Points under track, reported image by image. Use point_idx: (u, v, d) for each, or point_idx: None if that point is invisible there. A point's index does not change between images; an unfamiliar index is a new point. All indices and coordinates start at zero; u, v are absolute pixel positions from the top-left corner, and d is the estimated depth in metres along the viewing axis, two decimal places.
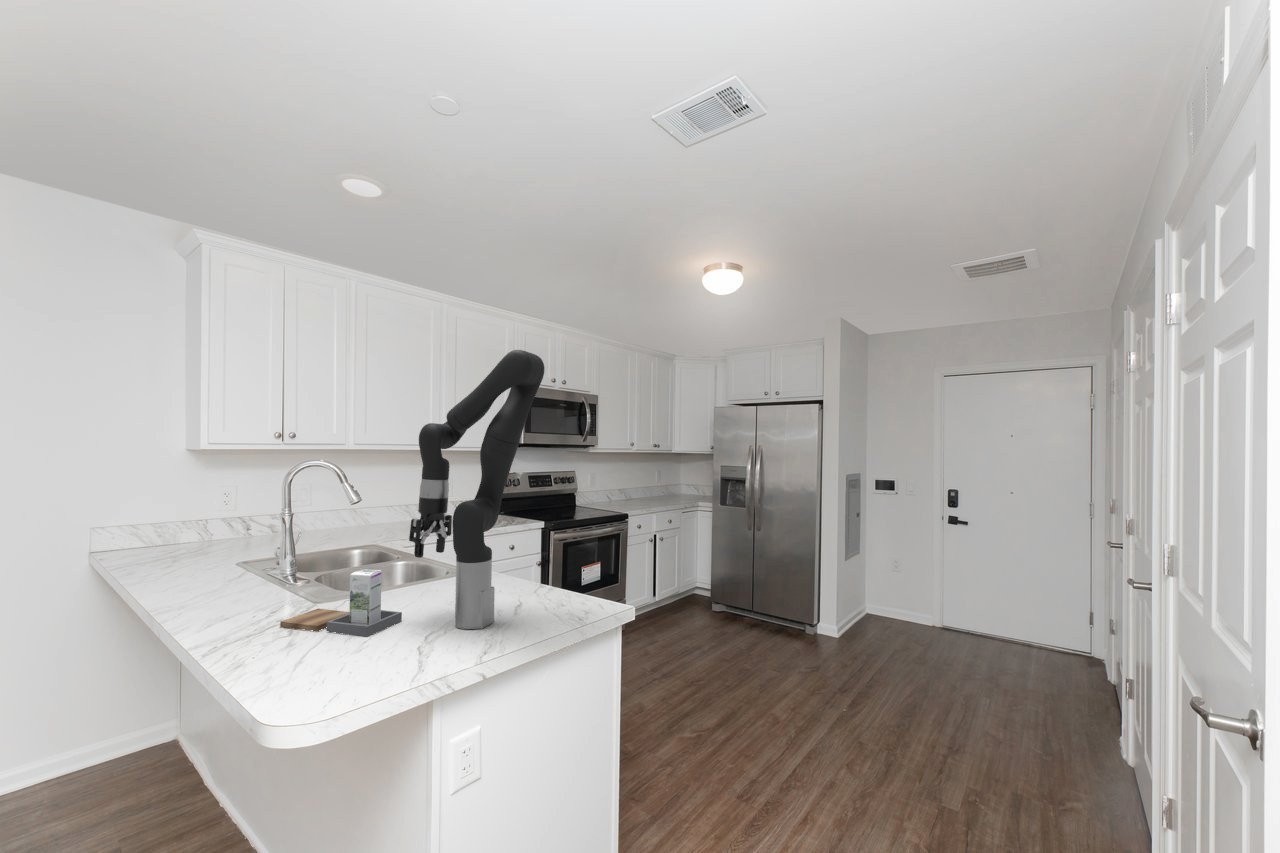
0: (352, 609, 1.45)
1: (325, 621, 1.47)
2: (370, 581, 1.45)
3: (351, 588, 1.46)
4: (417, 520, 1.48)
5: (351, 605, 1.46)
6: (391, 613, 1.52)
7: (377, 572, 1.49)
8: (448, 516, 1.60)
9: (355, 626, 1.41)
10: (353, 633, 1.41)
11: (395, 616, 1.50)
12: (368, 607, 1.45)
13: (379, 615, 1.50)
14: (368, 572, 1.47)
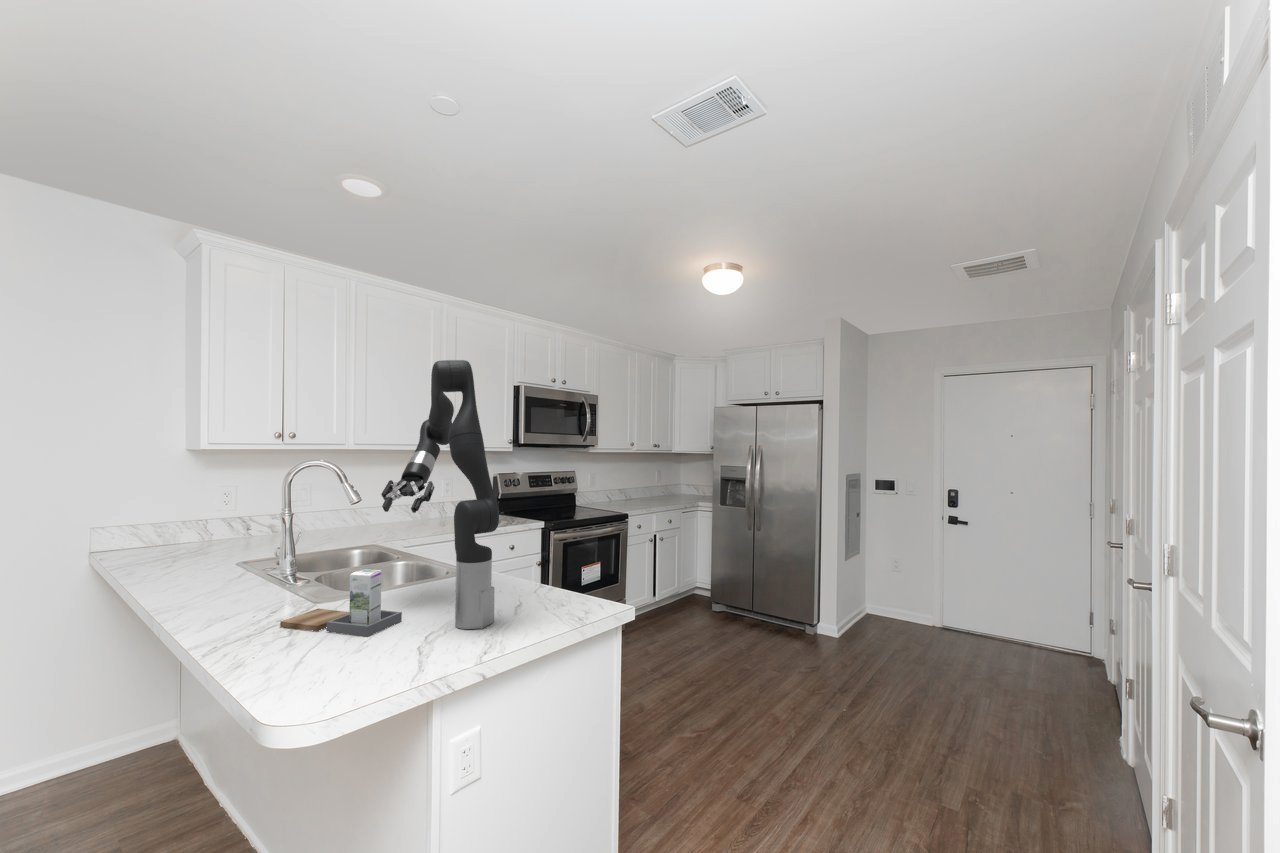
0: (352, 609, 1.45)
1: (325, 621, 1.47)
2: (370, 581, 1.45)
3: (351, 588, 1.46)
4: None
5: (351, 605, 1.46)
6: (391, 613, 1.52)
7: (377, 572, 1.49)
8: None
9: (355, 626, 1.41)
10: (353, 633, 1.41)
11: (395, 616, 1.50)
12: (368, 607, 1.45)
13: (379, 615, 1.50)
14: (368, 572, 1.47)
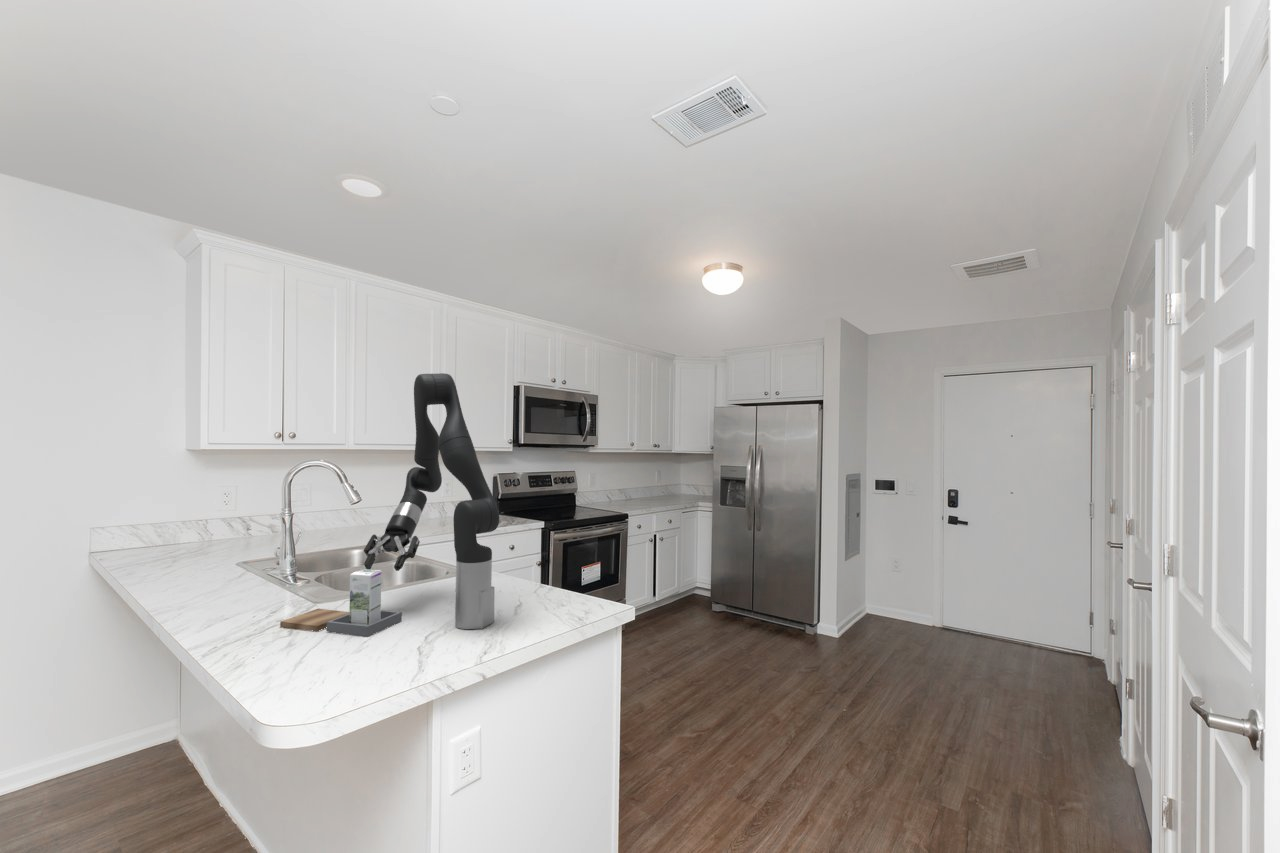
0: (352, 609, 1.45)
1: (325, 621, 1.47)
2: (370, 581, 1.45)
3: (351, 588, 1.46)
4: None
5: (351, 605, 1.46)
6: (391, 613, 1.52)
7: (377, 572, 1.49)
8: None
9: (355, 626, 1.41)
10: (353, 633, 1.41)
11: (395, 616, 1.50)
12: (368, 607, 1.45)
13: (379, 615, 1.50)
14: (368, 572, 1.47)
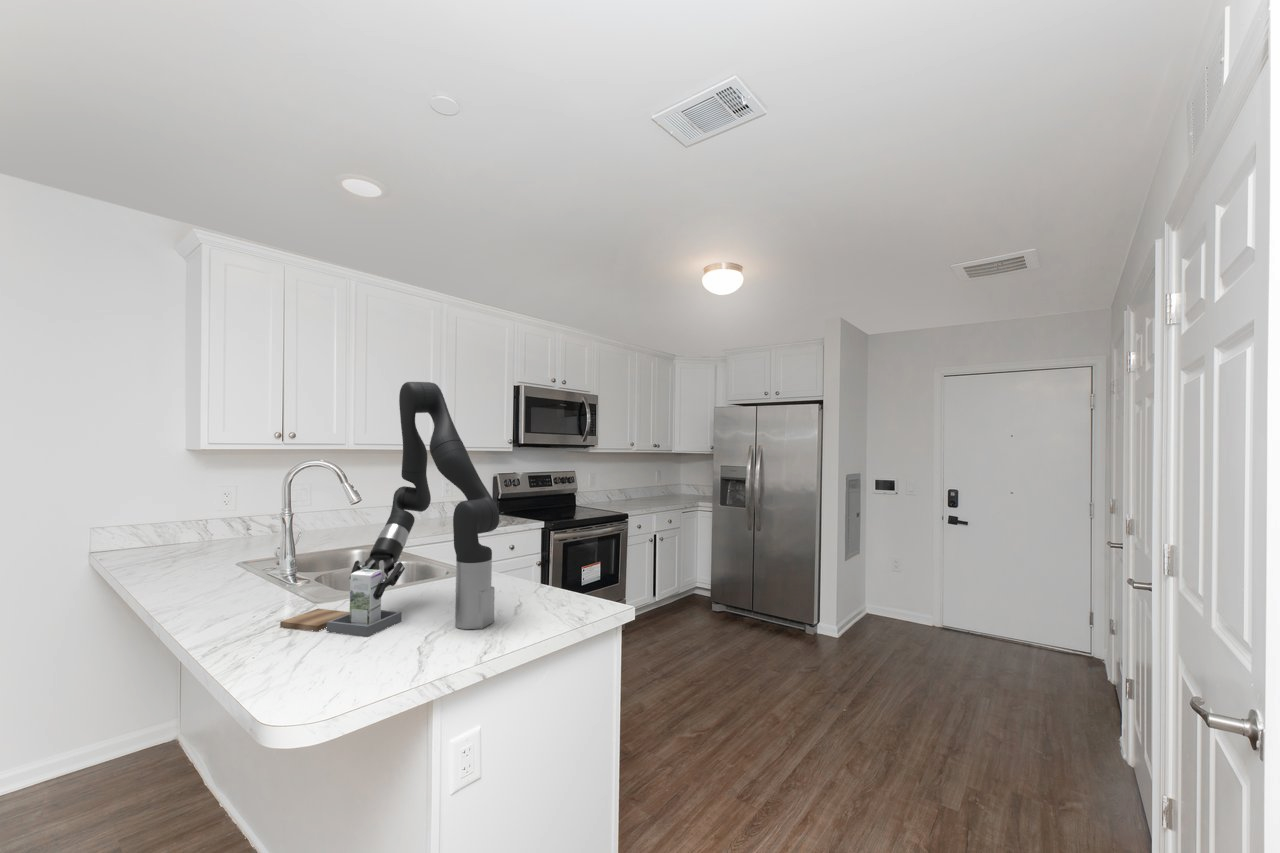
0: (352, 609, 1.45)
1: (325, 621, 1.47)
2: (371, 581, 1.45)
3: (351, 588, 1.46)
4: None
5: (351, 605, 1.46)
6: (391, 613, 1.52)
7: (377, 572, 1.49)
8: None
9: (355, 626, 1.41)
10: (353, 633, 1.41)
11: (395, 616, 1.50)
12: (368, 607, 1.45)
13: (379, 615, 1.50)
14: (368, 572, 1.47)
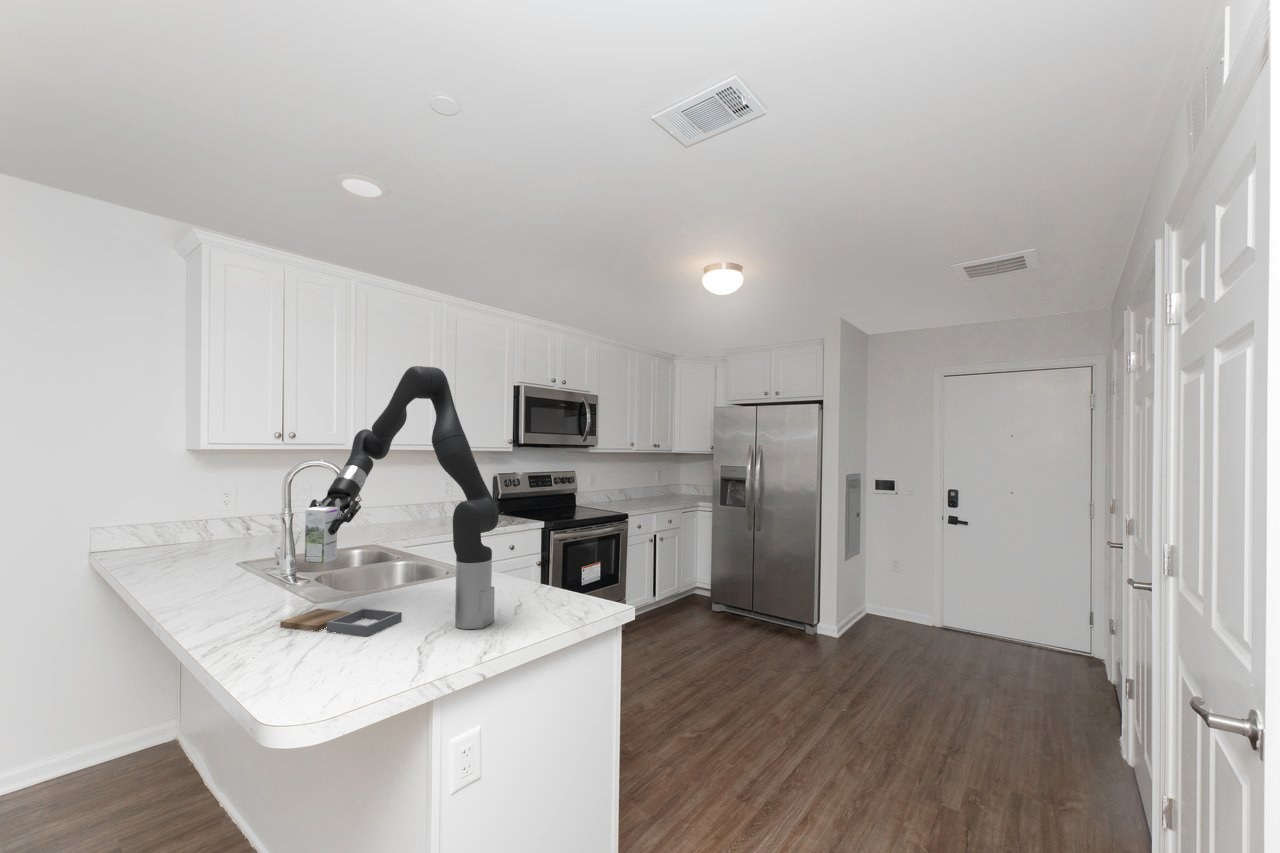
0: (307, 543, 1.49)
1: (325, 621, 1.47)
2: (325, 516, 1.49)
3: (306, 523, 1.49)
4: None
5: (306, 539, 1.49)
6: (391, 613, 1.52)
7: (333, 508, 1.52)
8: None
9: (355, 626, 1.41)
10: (353, 633, 1.41)
11: (395, 616, 1.50)
12: (323, 541, 1.49)
13: (335, 551, 1.53)
14: (324, 508, 1.51)
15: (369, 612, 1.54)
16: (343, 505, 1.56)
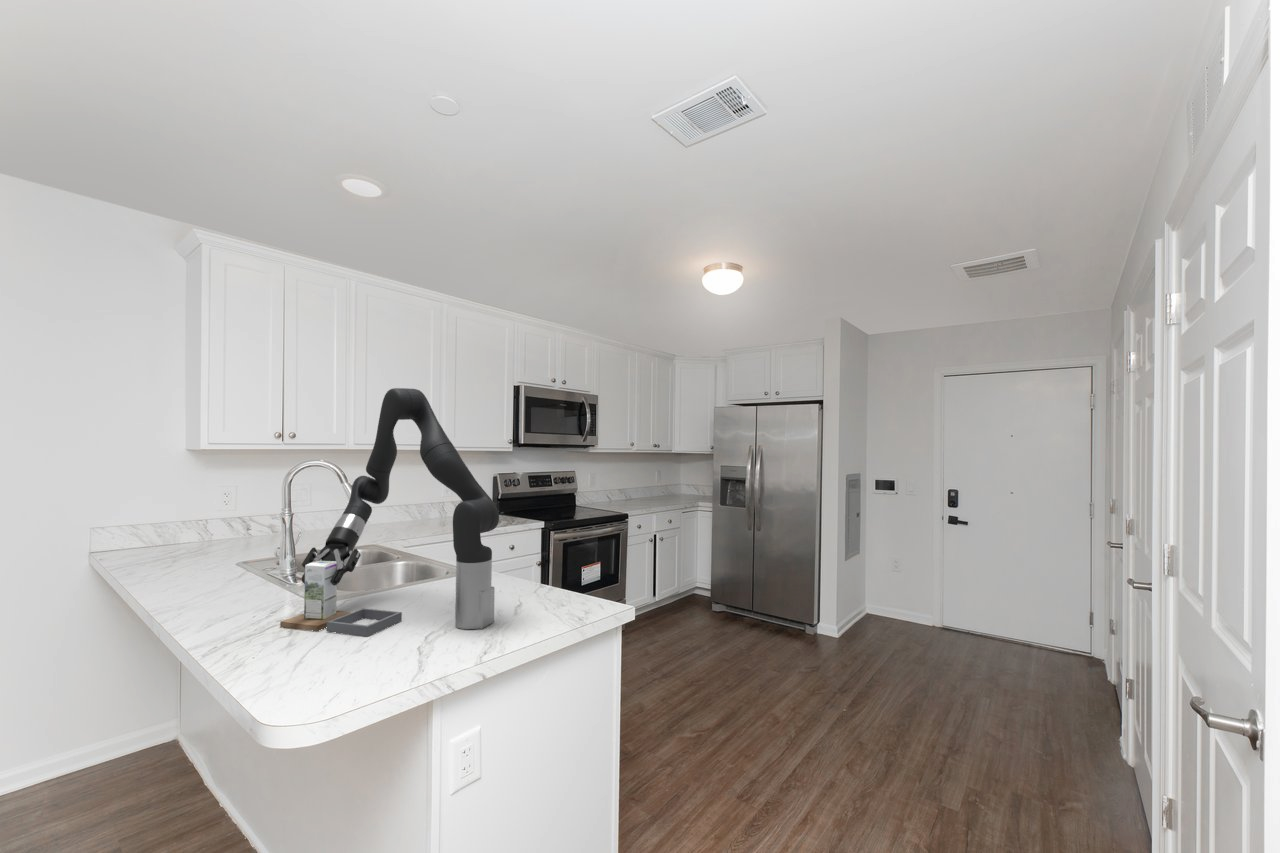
0: (307, 599, 1.49)
1: (325, 621, 1.47)
2: (325, 572, 1.49)
3: (306, 579, 1.49)
4: None
5: (306, 595, 1.49)
6: (391, 613, 1.52)
7: (332, 563, 1.52)
8: None
9: (355, 626, 1.41)
10: (353, 633, 1.41)
11: (395, 616, 1.50)
12: (322, 597, 1.48)
13: (334, 605, 1.53)
14: (323, 563, 1.50)
15: (369, 612, 1.54)
16: (342, 554, 1.56)
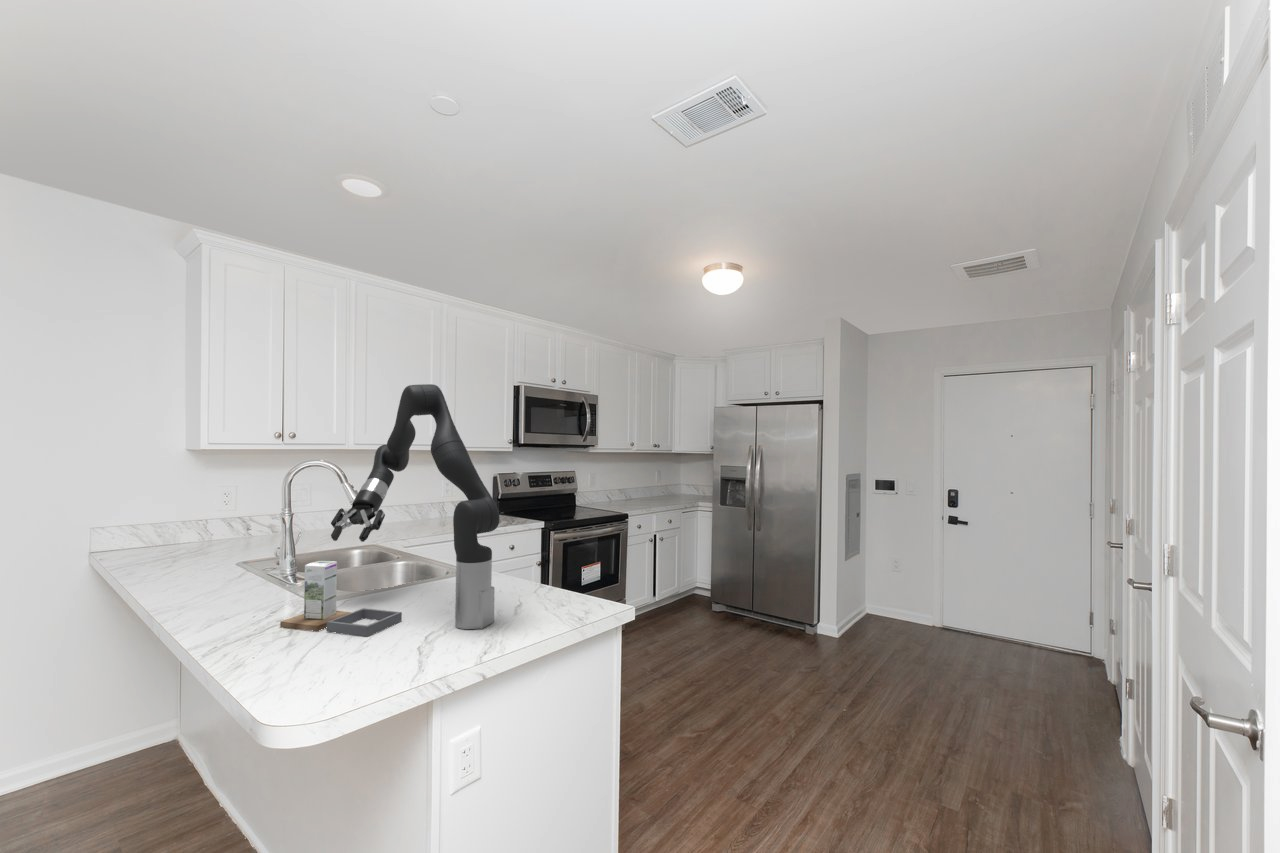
0: (307, 599, 1.49)
1: (325, 621, 1.47)
2: (325, 572, 1.49)
3: (305, 579, 1.49)
4: None
5: (306, 595, 1.49)
6: (391, 613, 1.52)
7: (332, 563, 1.52)
8: None
9: (355, 626, 1.41)
10: (353, 633, 1.41)
11: (395, 616, 1.50)
12: (322, 597, 1.48)
13: (334, 605, 1.53)
14: (323, 563, 1.50)
15: (369, 612, 1.54)
16: (369, 514, 1.68)
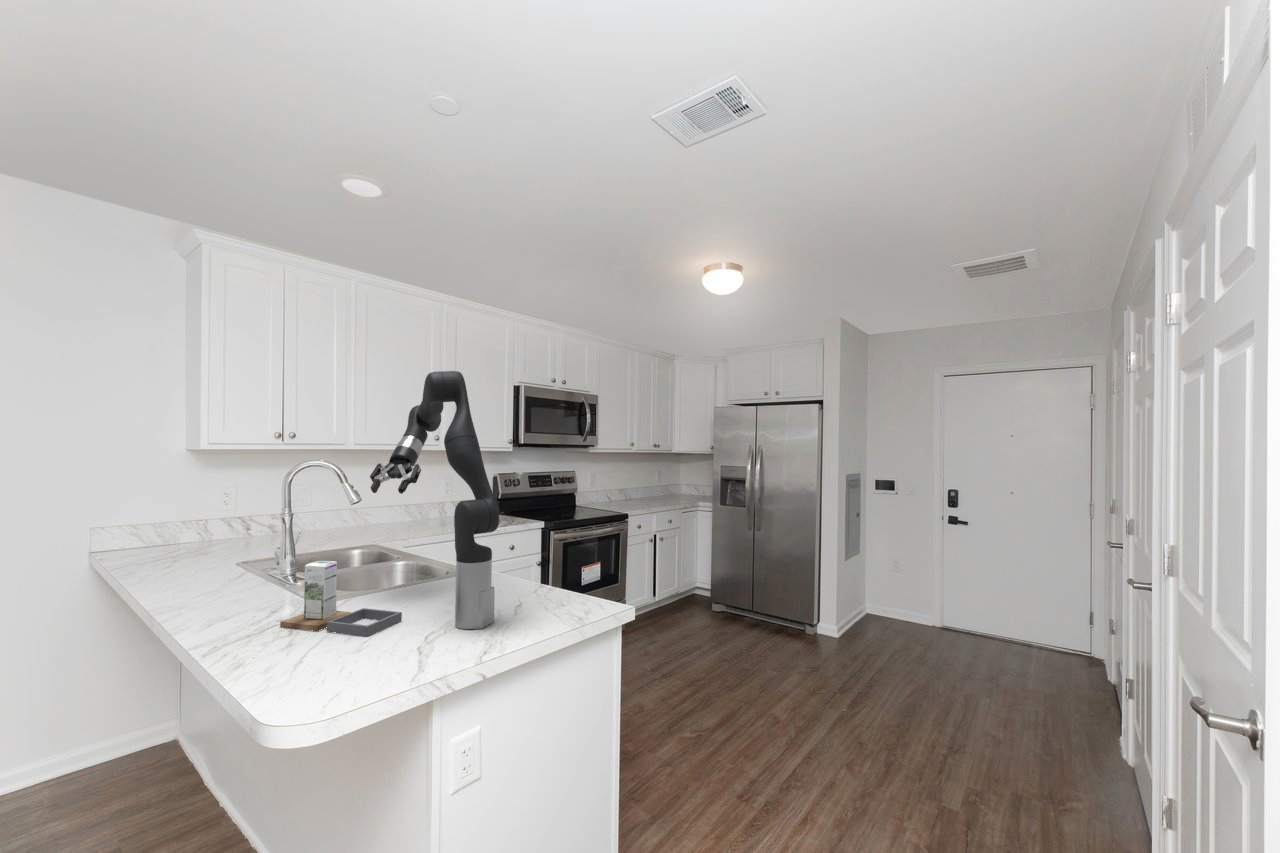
0: (307, 599, 1.49)
1: (325, 621, 1.47)
2: (325, 572, 1.49)
3: (305, 579, 1.49)
4: None
5: (306, 595, 1.49)
6: (391, 613, 1.52)
7: (332, 563, 1.52)
8: None
9: (355, 626, 1.41)
10: (353, 633, 1.41)
11: (395, 616, 1.50)
12: (322, 597, 1.48)
13: (334, 605, 1.53)
14: (323, 563, 1.50)
15: (369, 612, 1.54)
16: (406, 469, 1.75)
